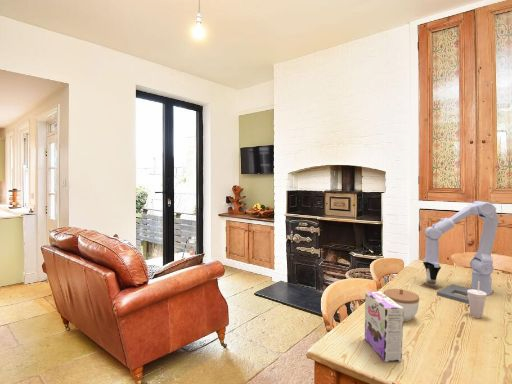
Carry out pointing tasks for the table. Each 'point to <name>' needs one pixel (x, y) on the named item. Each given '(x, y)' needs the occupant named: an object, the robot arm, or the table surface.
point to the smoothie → (476, 301)
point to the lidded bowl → (404, 301)
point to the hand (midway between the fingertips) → (431, 278)
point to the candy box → (384, 326)
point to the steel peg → (428, 279)
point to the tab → (431, 286)
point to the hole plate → (452, 289)
